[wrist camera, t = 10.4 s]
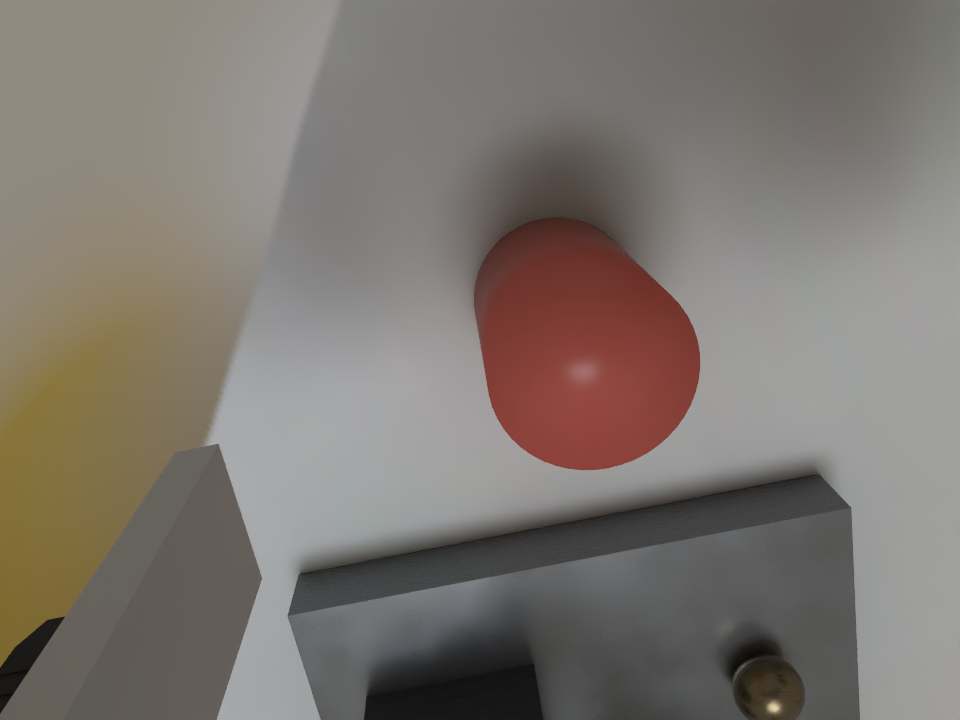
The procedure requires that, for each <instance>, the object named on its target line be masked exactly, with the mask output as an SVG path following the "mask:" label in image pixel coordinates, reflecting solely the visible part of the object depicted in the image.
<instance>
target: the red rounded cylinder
mask: <svg viewBox="0 0 960 720" xmlns="http://www.w3.org/2000/svg"><path fill="white" fill-rule="evenodd" d="M474 307H475V314H476V320H477V326H478V332H479V338H480V344H481V350H482V356H483V362H484V368H485V374H486V380H487V386H488V392H489V397H490V400H491V404H492V407H493V409H494V412H495V414H496V416H497V419H498V420H499V422H500V423H501V425H502V427H503V428H504V430H505V431H506V432H507V433H508V435H509V436H510V437H511V438H512V439H513V440H514V441H515V442H516V443H517V444H518V445H519V446H520V447H521V448H523V449H524V450H525V451H527V452H528V453H530V454H531V455H533V456H535V457H537V458H538V459H540V460H542V461H545V462H547V463H550V464H553V465H555V466H560V467H564V468H568V469H577V470H597V469H604V468H610V467H614V466H618V465H622V464H624V463H627V462H630V461H632V460H635V459H637V458H639V457H640V456H642V455H644V454H646V453H648V452H649V451H651V450H652V449H654V448H655V447H657V446H658V445H659V444H660V443H661V442H663V441H664V440H665V439H666V438H667V437H668V436H669V435H670V434H671V433H672V432H673V431H674V430H675V428H676V427H677V426H678V425H679V423H680V422H681V420H682V419H683V418H684V416H685V414H686V412H687V411H688V409H689V407H690V405H691V403H692V400H693V398H694V395H695V392H696V388H697V384H698V380H699V372H700V352H699V346H698V341H697V337H696V334H695V331H694V328H693V326H692V324H691V322H690V320H689V318H688V316H687V314H686V313H685V312H684V310H683V309H682V307H681V306H680V304H679V303H678V302H677V301H676V300H675V299H674V298H673V297H672V296H671V295H670V294H669V293H668V292H667V291H666V290H665V289H664V288H663V287H662V286H661V285H660V284H658V283H657V282H656V281H655V280H654V279H653V278H652V277H651V276H650V275H649V274H648V273H647V272H646V271H645V270H644V269H643V268H642V267H640V266H639V265H638V264H637V263H636V262H635V261H634V260H633V259H632V258H631V257H630V256H629V255H628V254H627V253H626V252H625V251H623V250H622V249H621V248H620V247H619V246H618V245H617V244H616V243H615V242H614V241H613V240H612V239H611V238H610V237H608V236H607V235H606V234H605V233H603V232H602V231H600V230H599V229H597V228H595V227H594V226H592V225H589V224H587V223H585V222H582V221H578V220H574V219H568V218H547V219H540V220H536V221H533V222H530V223H527V224H525V225H522V226H520V227H518V228H517V229H515V230H513V231H511V232H510V233H509V234H507V235H506V236H505V237H503V238H502V239H501V240H500V241H499V242H498V243H497V244H496V245H495V246H494V247H493V249H492V250H491V251H490V252H489V254H488V255H487V257H486V258H485V260H484V262H483V264H482V266H481V268H480V271H479V273H478V276H477V280H476V284H475V291H474Z"/></svg>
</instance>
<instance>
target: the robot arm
mask: <svg viewBox="0 0 960 720" xmlns="http://www.w3.org/2000/svg"><path fill="white" fill-rule="evenodd" d="M261 580H262V577H261V574H260V570H259V567H258V564H257V561H256V558H255V555H254V552H253V549H252V546H251V543H250V540H249V537H248V533H247V530H246V527H245V524H244V521H243V518H242V515H241V512H240V509H239V506H238V503H237V500H236V496H235V493H234V490H233V487H232V484H231V481H230V478H229V475H228V472H227V469H226V466H225V463H224V459H223V456H222V453H221V450H220V447H219V444H216V445H211V446H206V447H201V448H196V449H191V450H186V451H181V452H176V453H174V455H173V456H172V458H171V459H170V461H169V462H168V464H167V465H166V467H165V468H164V470H163V471H162V473H161V474H160V476H159V477H158V479H157V480H156V482H155V483H154V485H153V486H152V488H151V489H150V491H149V492H148V494H147V495H146V497H145V498H144V500H143V501H142V503H141V504H140V506H139V507H138V509H137V510H136V512H135V513H134V515H133V516H132V518H131V519H130V521H129V522H128V524H127V525H126V527H125V528H124V530H123V531H122V533H121V534H120V536H119V537H118V539H117V540H116V542H115V543H114V545H113V546H112V548H111V549H110V551H109V552H108V554H107V555H106V557H105V558H104V560H103V561H102V563H101V564H100V565H99V567H98V569H97V570H96V571H95V573H94V575H93V576H92V578H91V579H90V580H89V582H88V584H87V585H86V586H85V588H84V589H83V591H82V593H81V594H80V595H79V597H78V598H77V600H76V601H75V603H74V604H73V606H72V608H71V609H70V610H69V612H68V614H67V615H66V616H65V617H61V618H55V619H50V620H47V621H46V622H45V623H43V624H42V625H41V626H40V627H39V628H37V629H36V630H35V631H34V632H33V633H32V634H30V635H29V636H28V637H27V638H26V639H24V640H23V641H22V642H21V643H20V644H19V645H17V646H16V647H15V648H14V650H13V651H12V652H11V654H10V655H9V656H8V658H7V659H6V661H5V662H4V663H3V665H2V666H1V668H0V720H216V719H217V716H218V713H219V710H220V707H221V704H222V701H223V697H224V694H225V691H226V688H227V685H228V682H229V679H230V676H231V673H232V670H233V666H234V663H235V660H236V657H237V654H238V651H239V648H240V645H241V642H242V639H243V636H244V632H245V629H246V626H247V623H248V620H249V617H250V614H251V611H252V608H253V605H254V602H255V598H256V595H257V592H258V589H259V586H260V583H261Z"/></svg>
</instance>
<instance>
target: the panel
mask: <svg viewBox="0 0 960 720" xmlns="http://www.w3.org/2000/svg"><path fill="white" fill-rule="evenodd" d="M288 619H289V622H290V625H291V628H292V631H293V634H294V637H295V641H296V644H297V647H298V650H299V653H300V656H301V659H302V662H303V665H304V669H305V672H306V675H307V678H308V681H309V684H310V687H311V690H312V693H313V697H314V700H315V703H316V706H317V709H318V712H319V715H320V718H321V720H860V712H859V687H858V663H857V639H856V614H855V590H854V566H853V541H852V517H851V507H850V506H849V505H848V504H847V503H846V502H845V501H844V500H843V499H842V498H841V497H840V496H839V494H838V493H837V492H836V491H835V490H834V489H833V488H832V487H831V486H830V485H829V484H828V483H827V482H826V481H825V480H824V479H823V478H822V477H821V476H820V475H814V476H809V477H804V478H799V479H794V480H788V481H783V482H778V483H773V484H768V485H762V486H757V487H752V488H747V489H742V490H736V491H731V492H726V493H721V494H716V495H711V496H705V497H700V498H695V499H690V500H685V501H679V502H674V503H669V504H664V505H659V506H654V507H648V508H643V509H638V510H633V511H628V512H622V513H617V514H612V515H607V516H602V517H597V518H591V519H586V520H581V521H576V522H571V523H565V524H560V525H555V526H550V527H545V528H539V529H534V530H529V531H524V532H519V533H514V534H508V535H503V536H498V537H493V538H488V539H482V540H477V541H472V542H467V543H462V544H457V545H451V546H446V547H441V548H436V549H431V550H425V551H420V552H415V553H410V554H405V555H399V556H394V557H389V558H384V559H379V560H374V561H368V562H363V563H358V564H353V565H348V566H342V567H337V568H332V569H327V570H322V571H317V572H311V573H306V574H301V575H299V576H298V580H297V583H296V587H295V591H294V594H293V598H292V602H291V605H290V609H289V613H288Z"/></svg>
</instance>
